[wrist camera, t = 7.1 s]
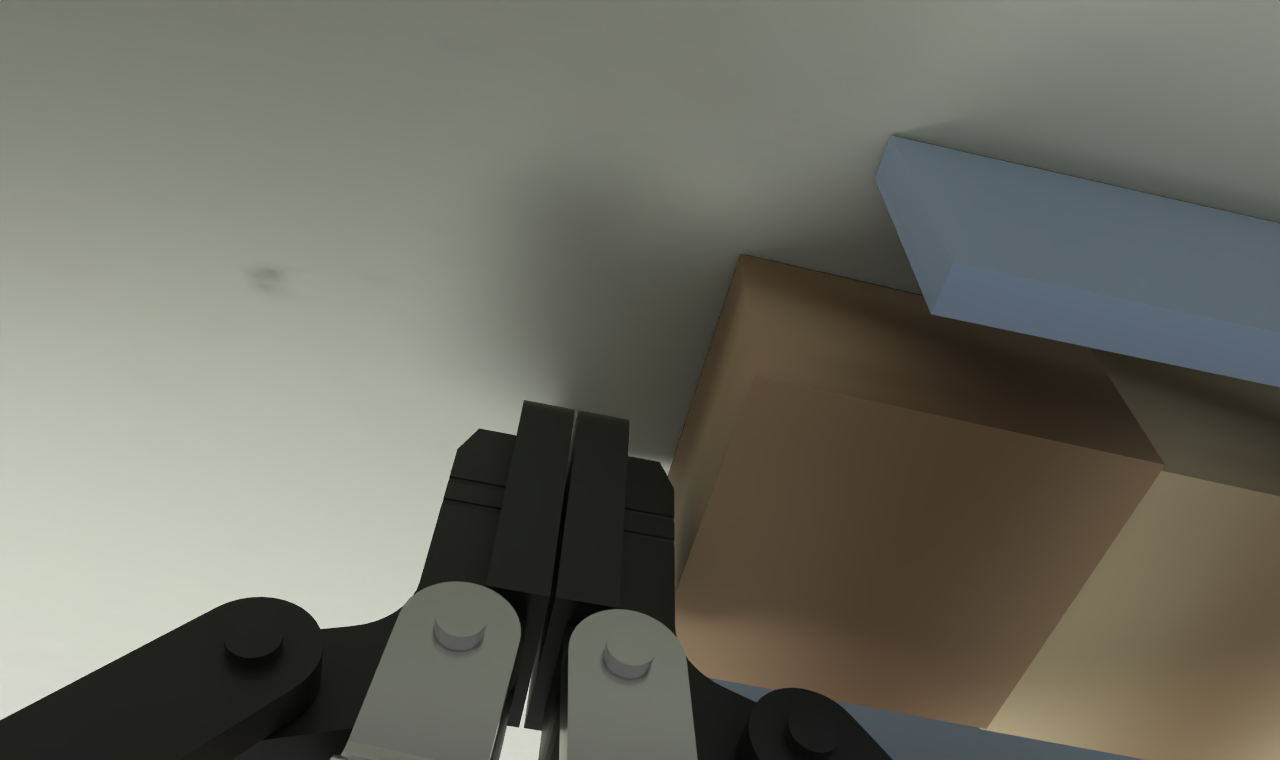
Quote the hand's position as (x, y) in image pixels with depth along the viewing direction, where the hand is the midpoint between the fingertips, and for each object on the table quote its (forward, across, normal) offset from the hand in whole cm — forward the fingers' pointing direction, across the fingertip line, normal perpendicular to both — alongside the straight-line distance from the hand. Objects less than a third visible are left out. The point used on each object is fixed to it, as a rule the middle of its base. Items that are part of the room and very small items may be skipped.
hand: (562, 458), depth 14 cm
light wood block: (+1, -9, 0) cm, 9 cm away
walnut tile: (+1, -4, 0) cm, 5 cm away
